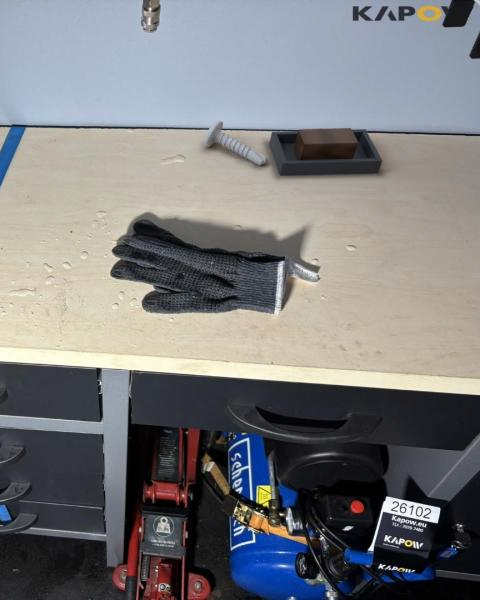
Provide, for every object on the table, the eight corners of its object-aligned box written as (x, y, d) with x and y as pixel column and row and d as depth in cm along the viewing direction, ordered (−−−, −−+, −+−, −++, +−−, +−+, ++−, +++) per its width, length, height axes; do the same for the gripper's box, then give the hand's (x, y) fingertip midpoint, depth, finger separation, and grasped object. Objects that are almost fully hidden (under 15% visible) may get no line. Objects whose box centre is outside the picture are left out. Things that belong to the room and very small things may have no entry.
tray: (361, 141, 110) (365, 129, 108) (377, 173, 103) (382, 160, 101) (269, 143, 110) (271, 131, 109) (279, 175, 104) (282, 163, 102)
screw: (203, 147, 112) (219, 123, 111) (257, 178, 109) (274, 154, 108) (199, 139, 107) (215, 114, 107) (256, 171, 104) (273, 146, 103)
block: (344, 147, 108) (351, 127, 105) (351, 162, 105) (358, 142, 102) (293, 148, 108) (298, 129, 105) (299, 163, 105) (304, 144, 102)
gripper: (596, -74, 68) (521, 70, 81) (524, -117, 80) (468, 14, 93) (528, -71, 69) (463, 72, 81) (466, -115, 80) (418, 16, 93)
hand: (466, 41), depth 87 cm, fingers open, 9 cm apart
